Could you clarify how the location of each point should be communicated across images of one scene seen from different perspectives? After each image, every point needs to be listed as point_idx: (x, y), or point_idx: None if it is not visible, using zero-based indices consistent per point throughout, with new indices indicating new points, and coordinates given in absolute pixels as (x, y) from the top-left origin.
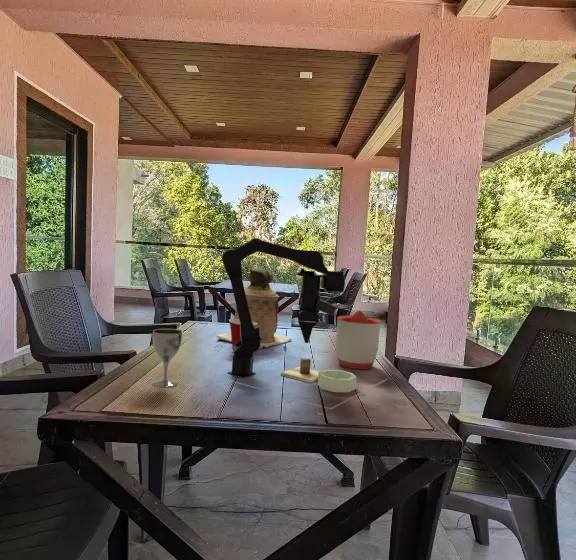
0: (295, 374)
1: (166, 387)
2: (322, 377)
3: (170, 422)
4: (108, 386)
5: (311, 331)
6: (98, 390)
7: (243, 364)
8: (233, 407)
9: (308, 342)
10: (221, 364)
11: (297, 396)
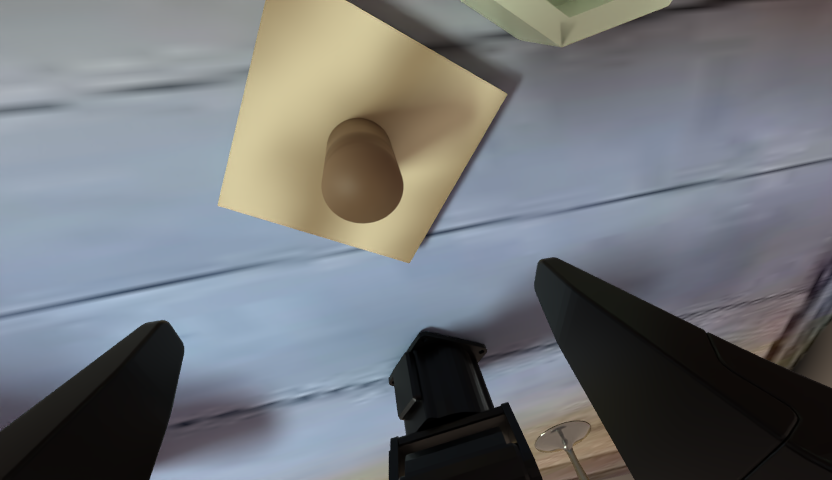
0: (413, 195)
1: (589, 425)
2: (663, 5)
3: (800, 344)
4: (586, 473)
5: (749, 353)
6: (609, 470)
7: (483, 393)
8: (752, 284)
9: (554, 257)
10: (333, 435)
11: (691, 128)
